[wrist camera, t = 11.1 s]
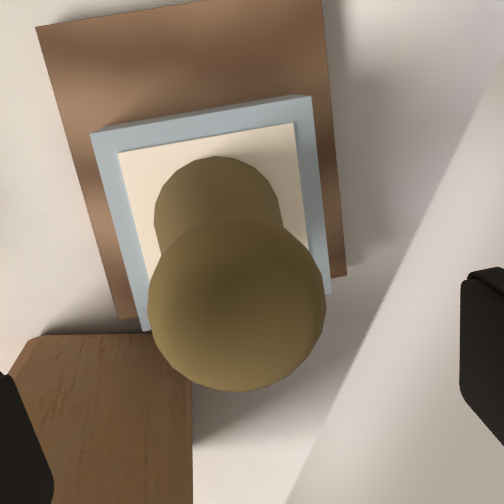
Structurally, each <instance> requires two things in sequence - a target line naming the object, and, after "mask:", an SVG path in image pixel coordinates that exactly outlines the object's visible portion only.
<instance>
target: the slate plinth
mask: <svg viewBox="0 0 504 504" xmlns="http://www.w3.org/2000/svg"><path fill="white" fill-rule="evenodd" d="M90 138H91V142H92V146H93V149H94V153H95V157H96V160H97V164H98V168H99V172H100V175H101V179H102V183H103V186H104V190H105V194H106V198H107V201H108V205H109V209H110V212H111V216H112V220H113V224H114V227H115V231H116V235H117V238H118V242H119V246H120V250H121V253H122V257H123V261H124V265H125V268H126V272H127V276H128V279H129V283H130V287H131V291H132V294H133V298H134V302H135V305H136V309H137V313H138V317H139V320H140V324H141V328H142V331H143V332H144V331H149V330H151V327H150V323H149V320H148V316H147V304H148V290H149V284H150V280H151V278H152V275H153V273H154V271H155V268H156V266H157V264H158V262H159V259H160V257H161V252H160V248H159V244H158V240H157V236H156V232H155V228H154V210H155V203H156V200H157V198H158V196H159V193H160V191H161V189H162V186H163V185H164V184H165V183H166V182H167V180H168V179H169V178H170V177H171V176H172V175H173V174H174V173H175V171H176V170H178V169H180V168H182V167H183V166H185V165H187V164H189V163H190V162H192V161H194V160H198V159H203V158H208V157H212V156H219V157H227V158H236V159H238V160H240V161H242V162H244V163H246V164H248V165H251V166H253V167H254V168H255V169H256V170H258V171H259V172H260V173H261V174H262V175H263V176H264V177H265V178H266V179H267V180H268V181H269V183H270V185H271V187H272V189H273V190H274V192H275V194H276V196H277V198H278V203H279V208H280V212H281V217H282V222H283V226H284V228H285V229H287V230H288V231H289V232H290V233H291V234H292V235H293V236H294V237H295V238H297V239H298V240H299V241H300V242H301V243H302V244H303V245H304V246H305V247H306V248H307V249H308V251H309V252H310V253H311V255H312V257H313V259H314V261H315V263H316V265H317V267H318V268H319V270H320V272H321V274H322V278H323V285H324V292H325V295H330V294H332V286H331V277H330V267H329V258H328V249H327V239H326V230H325V221H324V211H323V202H322V192H321V183H320V174H319V164H318V155H317V146H316V136H315V127H314V118H313V108H312V99H311V96H307V95H297V94H291V95H285V96H279V97H273V98H267V99H261V100H255V101H249V102H244V103H238V104H232V105H226V106H220V107H214V108H208V109H203V110H197V111H191V112H185V113H179V114H173V115H167V116H161V117H156V118H150V119H144V120H138V121H132V122H126V123H120V124H114V125H109V126H104V127H102V128H100V129H98V130H96V131H94V132H92V133H90Z"/></svg>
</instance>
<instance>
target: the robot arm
mask: <svg viewBox="0 0 504 504" xmlns="http://www.w3.org/2000/svg"><path fill="white" fill-rule="evenodd" d="M460 296H461V297H460V374H459V375H460V377H459V385H460V391H461V394H462V396H463V398H464V400H465V401H466V403H467V404H468V405H469V406H470V407H471V409H472V410H473V411H474V412H475V413H476V414H477V416H478V417H479V418H480V419H481V420H482V421H483V422H484V424H485V425H486V426H487V427H488V428H489V430H490V431H491V432H492V433H493V434H494V435H495V437H496V438H497V439H498V440H499V441H500V442H501V443H502V445H503V446H504V269H503V268H500V267H494V268H489V269H484V270H479V271H474V272H471V273H470V274H469V275H468V277H467V280H464V281H463V282H462V284H461V295H460ZM53 494H54V479H53V475H52V472H51V470H50V467H49V465H48V462H47V460H46V458H45V455H44V453H43V450H42V448H41V445H40V443H39V441H38V438H37V436H36V433H35V431H34V428H33V426H32V423H31V421H30V419H29V416H28V414H27V411H26V409H25V406H24V404H23V402H22V399H21V397H20V394H19V392H18V389H17V387H16V384H15V382H14V380H13V378H12V377H11V376H10V375H8V374H7V375H3V374H2V373H1V372H0V504H51V501H52V498H53Z"/></svg>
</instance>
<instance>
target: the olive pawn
mask: <svg viewBox="0 0 504 504" xmlns="http://www.w3.org/2000/svg"><path fill="white" fill-rule="evenodd" d="M154 228H155V232H156V236H157V240H158V244H159V248H160V252H161V257H160V259H159V262H158V264H157V266H156V268H155V271H154V273H153V275H152V278H151V280H150V284H149V290H148V304H147V316H148V320H149V323H150V327H151V330H152V334H153V337H154V340H155V343H156V345H157V347H158V349H159V350H160V351H161V353H162V354H163V356H164V357H165V358H166V360H167V361H168V362H169V364H170V365H171V367H173V368H174V369H175V370H177V371H178V372H180V373H181V374H182V375H184V376H185V377H187V378H188V379H190V380H191V381H192V382H195V383H197V384H200V385H203V386H206V387H209V388H212V389H215V390H218V391H229V392H247V391H251V390H255V389H259V388H264V387H268V386H270V385H272V384H273V383H275V382H277V381H279V380H281V379H283V378H284V377H286V376H288V375H289V374H290V373H292V372H293V371H294V370H295V369H296V368H297V367H298V366H299V365H300V364H301V363H302V362H303V361H304V360H305V359H306V358H307V357H308V355H309V354H310V352H311V351H312V349H313V347H314V345H315V343H316V342H317V340H318V338H319V336H320V335H321V333H322V328H323V323H324V318H325V313H326V299H325V292H324V285H323V278H322V274H321V272H320V270H319V268H318V267H317V265H316V263H315V261H314V259H313V257H312V255H311V253H310V252H309V251H308V249H307V248H306V247H305V246H304V245H303V244H302V243H301V242H300V241H299V240H298V239H297V238H295V237H294V236H293V235H292V234H291V233H290V232H289V231H288V230H287V229H285V228H284V226H283V222H282V217H281V212H280V208H279V203H278V198H277V196H276V194H275V192H274V190H273V189H272V187H271V185H270V183H269V181H268V180H267V179H266V178H265V177H264V176H263V175H262V174H261V173H260V172H259V171H258V170H256V169H255V168H254V167H253V166H251V165H248V164H246V163H244V162H242V161H240V160H238V159H236V158H227V157H219V156H212V157H208V158H203V159H198V160H194V161H192V162H190V163H189V164H187V165H185V166H183V167H182V168H180V169H178V170H176V171H175V173H174V174H173V175H172V176H171V177H170V178H169V179H168V180H167V182H166V183H165V184H164V185H163V186H162V189H161V191H160V193H159V196H158V198H157V200H156V203H155V210H154Z"/></svg>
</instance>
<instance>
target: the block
mask: <svg viewBox="0 0 504 504" xmlns="http://www.w3.org/2000/svg"><path fill="white" fill-rule="evenodd" d="M8 375H10V376H11V377H12V378H13V380H14V382H15V384H16V387H17V389H18V392H19V394H20V397H21V399H22V402H23V404H24V406H25V409H26V411H27V414H28V416H29V419H30V421H31V423H32V426H33V428H34V431H35V433H36V436H37V438H38V441H39V443H40V445H41V448H42V450H43V453H44V455H45V458H46V460H47V462H48V465H49V467H50V470H51V472H52V475H53V479H54V494H53V498H52V501H51V504H193V460H192V384H191V380H190V379H188V378H187V377H185V376H184V375H182V374H181V373H180V372H178V371H177V370H175V369H174V368H173V367H171V365H170V364H169V362H168V361H167V360H166V358H165V357H164V356H163V354H162V353H161V351H160V350H159V349H158V347H157V345H156V343H155V340H154V337H153V334H152V333H130V334H75V335H42V336H39V337H36V338H33V339H31V340H29V341H28V342H27V343H26V345H25V347H24V348H23V350H22V351H21V353H20V355H19V356H18V358H17V359H16V361H15V363H14V364H13V366H12V368H11V369H10V371H9V372H8Z"/></svg>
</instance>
